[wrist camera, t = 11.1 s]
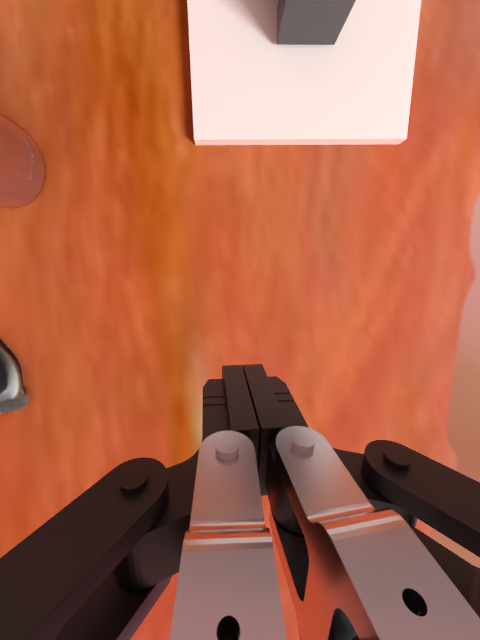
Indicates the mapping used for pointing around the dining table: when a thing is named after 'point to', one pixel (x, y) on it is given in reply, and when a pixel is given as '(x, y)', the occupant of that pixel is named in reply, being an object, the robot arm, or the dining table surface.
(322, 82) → the base board
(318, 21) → the shaft
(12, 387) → the salad plate
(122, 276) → the dining table surface
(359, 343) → the dining table surface
